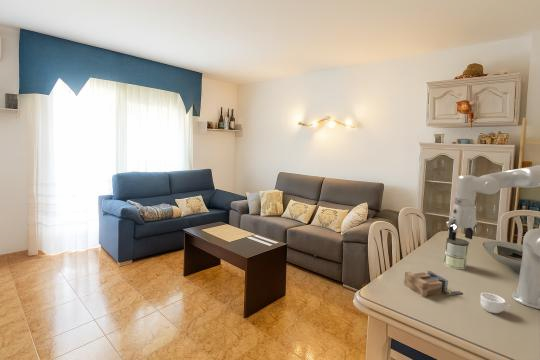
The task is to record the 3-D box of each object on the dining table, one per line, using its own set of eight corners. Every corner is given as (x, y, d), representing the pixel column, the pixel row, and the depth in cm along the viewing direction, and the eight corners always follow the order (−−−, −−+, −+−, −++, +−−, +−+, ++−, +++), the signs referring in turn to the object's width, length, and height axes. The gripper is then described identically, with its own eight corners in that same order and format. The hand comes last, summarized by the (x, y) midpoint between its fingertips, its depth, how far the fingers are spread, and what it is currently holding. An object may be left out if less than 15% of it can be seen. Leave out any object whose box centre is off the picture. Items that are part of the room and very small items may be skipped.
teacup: (478, 310, 116) (480, 297, 115) (479, 302, 122) (481, 290, 121) (510, 320, 109) (512, 307, 109) (510, 312, 115) (512, 299, 115)
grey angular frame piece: (451, 293, 127) (452, 283, 126) (432, 296, 124) (433, 285, 123) (429, 280, 138) (430, 270, 138) (411, 282, 136) (412, 272, 135)
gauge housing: (462, 293, 128) (464, 281, 127) (425, 299, 123) (427, 285, 122) (438, 280, 141) (440, 268, 140) (404, 284, 135) (405, 272, 134)
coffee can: (440, 260, 164) (443, 236, 163) (459, 262, 163) (462, 238, 162) (449, 268, 154) (452, 243, 152) (470, 270, 153) (473, 244, 151)
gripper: (456, 204, 125) (452, 243, 128) (487, 203, 130) (482, 240, 132) (442, 201, 132) (438, 237, 135) (471, 200, 137) (467, 235, 139)
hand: (460, 239), depth 133 cm, fingers open, 9 cm apart
